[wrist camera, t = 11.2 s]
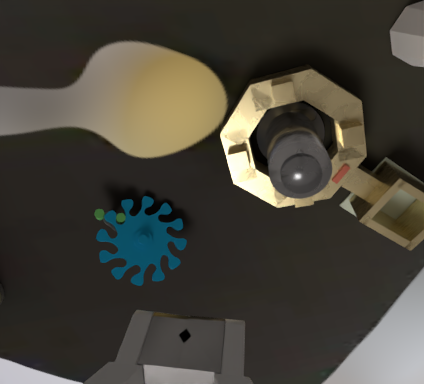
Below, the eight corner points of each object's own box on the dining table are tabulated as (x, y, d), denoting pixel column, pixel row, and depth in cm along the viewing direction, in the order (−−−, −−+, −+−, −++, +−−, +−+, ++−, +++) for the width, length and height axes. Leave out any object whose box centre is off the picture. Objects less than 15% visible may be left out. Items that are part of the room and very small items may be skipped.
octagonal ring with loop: (204, 155, 38) (199, 171, 35) (272, 41, 32) (275, 47, 29) (373, 249, 42) (385, 274, 38) (462, 163, 36) (486, 181, 32)
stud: (259, 99, 35) (262, 131, 27) (329, 103, 35) (355, 137, 26) (254, 162, 39) (254, 209, 30) (317, 167, 38) (336, 215, 30)
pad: (339, 204, 40) (339, 205, 40) (385, 156, 37) (386, 157, 37) (386, 235, 41) (387, 236, 41) (435, 191, 38) (436, 191, 38)
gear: (204, 230, 41) (151, 305, 38) (193, 235, 47) (147, 300, 44) (127, 171, 41) (67, 243, 37) (125, 183, 46) (73, 247, 43)
